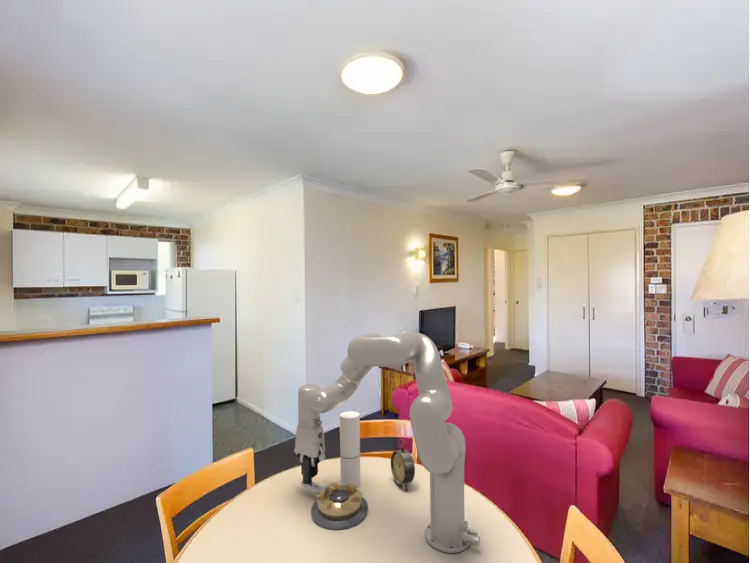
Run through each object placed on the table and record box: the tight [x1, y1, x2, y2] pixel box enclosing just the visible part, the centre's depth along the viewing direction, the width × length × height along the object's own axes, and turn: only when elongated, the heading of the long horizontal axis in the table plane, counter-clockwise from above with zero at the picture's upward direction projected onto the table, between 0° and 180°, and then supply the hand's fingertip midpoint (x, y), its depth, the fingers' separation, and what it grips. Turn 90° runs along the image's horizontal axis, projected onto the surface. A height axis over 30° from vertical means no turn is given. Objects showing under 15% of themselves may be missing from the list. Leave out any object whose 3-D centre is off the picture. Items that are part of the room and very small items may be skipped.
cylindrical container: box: [339, 410, 361, 488], centre depth 132 cm, size 7×7×25 cm
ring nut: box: [300, 456, 363, 520], centre depth 119 cm, size 24×14×11 cm, turn 53°
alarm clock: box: [390, 438, 416, 492], centre depth 131 cm, size 11×5×16 cm, turn 25°
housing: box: [310, 496, 369, 531], centre depth 116 cm, size 18×18×1 cm
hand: (309, 474), depth 126 cm, fingers closed on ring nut, 3 cm apart
